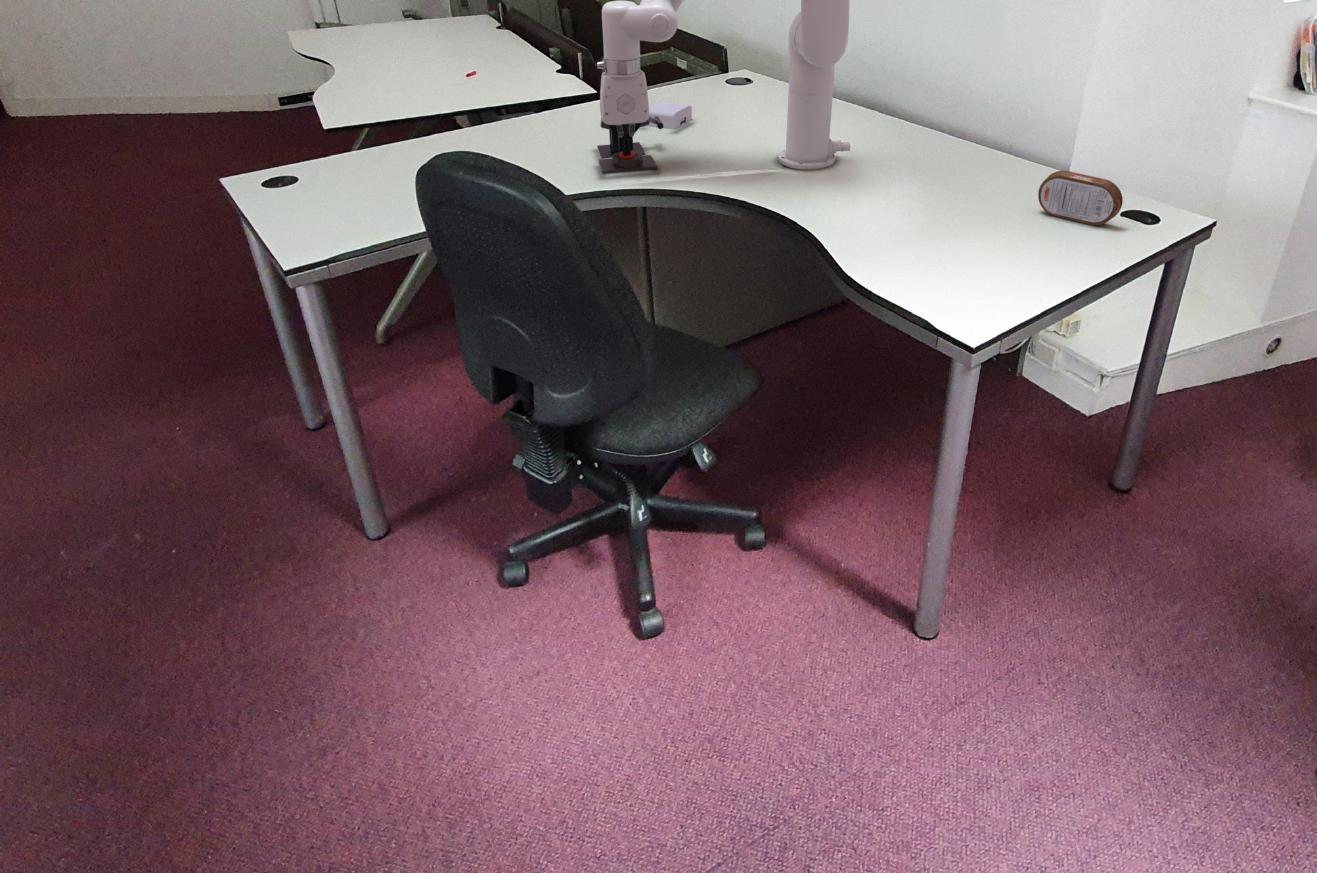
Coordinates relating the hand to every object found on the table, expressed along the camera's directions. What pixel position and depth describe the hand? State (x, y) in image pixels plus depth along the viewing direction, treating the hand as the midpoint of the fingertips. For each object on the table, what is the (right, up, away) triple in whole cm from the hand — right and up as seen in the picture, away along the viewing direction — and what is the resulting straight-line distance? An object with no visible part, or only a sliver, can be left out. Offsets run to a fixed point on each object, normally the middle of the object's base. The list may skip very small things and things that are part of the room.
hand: (626, 153), depth 206 cm
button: (0, -1, +1) cm, 2 cm away
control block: (0, -3, +3) cm, 4 cm away
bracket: (-2, +3, +12) cm, 12 cm away
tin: (+86, -21, -28) cm, 93 cm away
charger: (+7, +16, +30) cm, 35 cm away
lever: (+2, +10, +8) cm, 13 cm away
